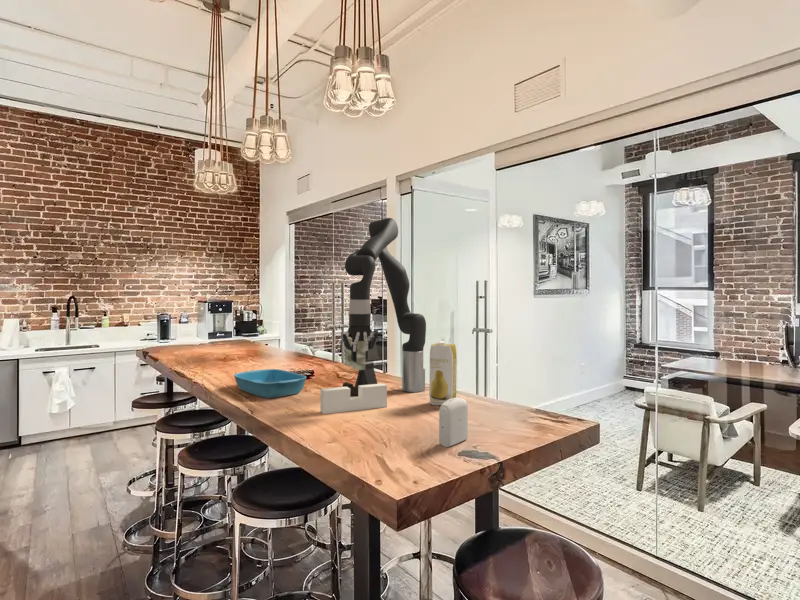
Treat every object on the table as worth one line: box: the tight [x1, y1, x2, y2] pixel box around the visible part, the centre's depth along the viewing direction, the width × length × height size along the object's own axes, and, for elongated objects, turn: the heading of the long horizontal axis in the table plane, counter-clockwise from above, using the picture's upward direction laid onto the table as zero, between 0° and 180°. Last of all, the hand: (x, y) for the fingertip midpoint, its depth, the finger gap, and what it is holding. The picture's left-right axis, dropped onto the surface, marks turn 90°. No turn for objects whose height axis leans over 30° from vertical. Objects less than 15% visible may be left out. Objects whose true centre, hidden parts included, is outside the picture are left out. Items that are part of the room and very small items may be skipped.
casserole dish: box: [233, 368, 307, 399], centre depth 195 cm, size 37×22×7 cm, turn 43°
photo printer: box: [438, 397, 469, 448], centre depth 130 cm, size 10×4×12 cm, turn 139°
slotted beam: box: [319, 382, 388, 415], centre depth 166 cm, size 24×4×8 cm, turn 116°
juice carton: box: [428, 340, 458, 406], centre depth 174 cm, size 9×8×24 cm
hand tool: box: [341, 381, 358, 397], centre depth 187 cm, size 19×4×5 cm, turn 37°
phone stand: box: [354, 360, 378, 388], centre depth 201 cm, size 9×6×12 cm, turn 48°
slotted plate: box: [343, 336, 367, 371], centre depth 165 cm, size 3×14×10 cm, turn 26°
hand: (359, 361), depth 161 cm, fingers closed on slotted plate, 3 cm apart
